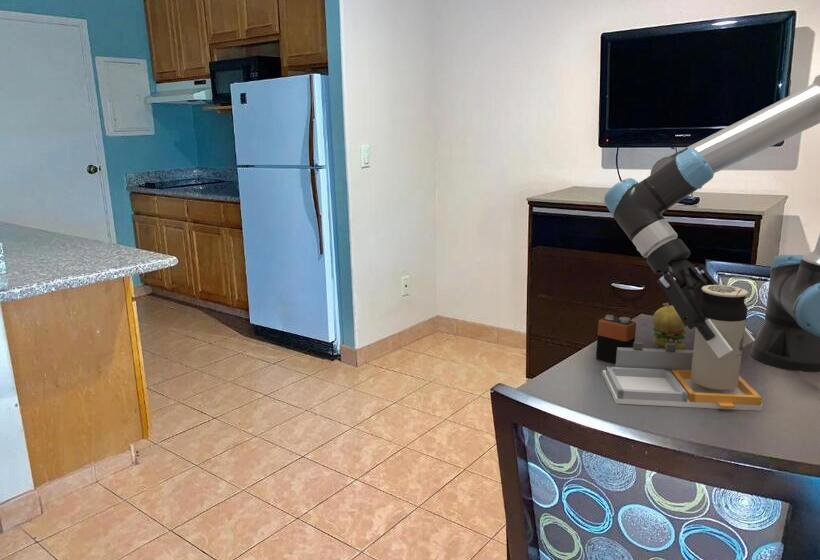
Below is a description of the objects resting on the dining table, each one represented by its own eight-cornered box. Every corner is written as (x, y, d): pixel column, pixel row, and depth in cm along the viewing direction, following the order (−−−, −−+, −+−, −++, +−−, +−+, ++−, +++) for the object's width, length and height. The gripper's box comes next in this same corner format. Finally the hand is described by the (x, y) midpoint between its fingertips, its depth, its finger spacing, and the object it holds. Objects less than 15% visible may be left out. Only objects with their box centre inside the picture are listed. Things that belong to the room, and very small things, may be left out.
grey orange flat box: (731, 380, 120) (735, 344, 118) (765, 413, 105) (770, 374, 103) (602, 374, 123) (604, 340, 121) (617, 406, 108) (620, 367, 107)
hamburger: (691, 352, 135) (697, 301, 133) (677, 360, 131) (682, 307, 128) (658, 344, 141) (663, 294, 138) (643, 351, 136) (648, 300, 133)
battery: (624, 367, 127) (628, 322, 125) (595, 359, 131) (598, 315, 129) (633, 362, 130) (637, 317, 128) (604, 354, 135) (607, 311, 132)
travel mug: (683, 382, 112) (693, 289, 108) (699, 371, 118) (709, 282, 114) (728, 395, 107) (741, 297, 103) (743, 382, 112) (755, 289, 108)
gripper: (675, 253, 126) (746, 347, 117) (617, 266, 113) (691, 371, 105) (703, 231, 120) (780, 327, 111) (645, 242, 108) (726, 351, 99)
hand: (737, 348), depth 108 cm, fingers closed on travel mug, 8 cm apart
